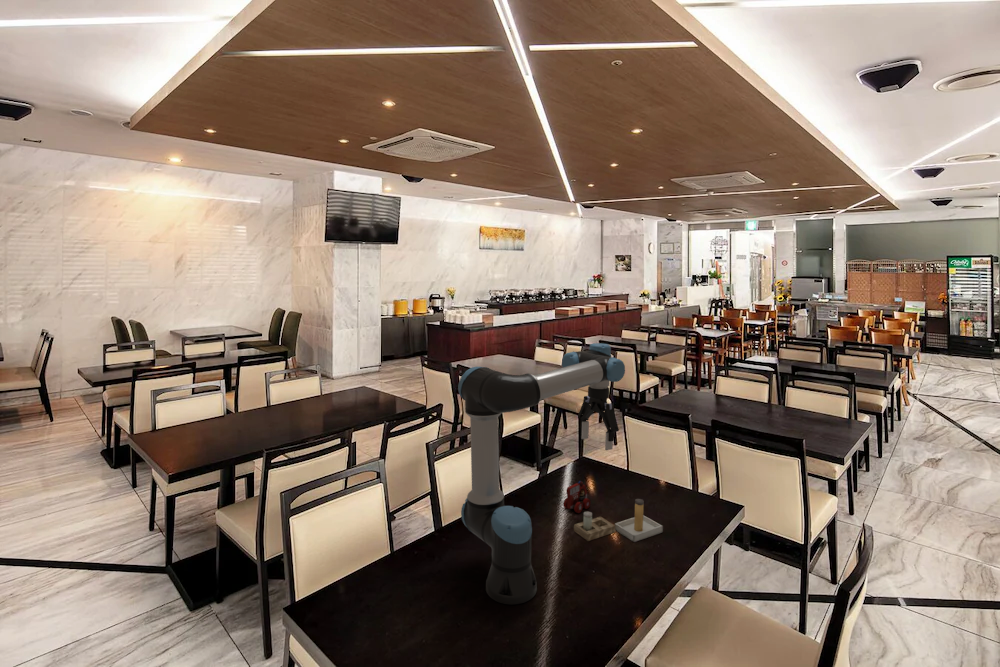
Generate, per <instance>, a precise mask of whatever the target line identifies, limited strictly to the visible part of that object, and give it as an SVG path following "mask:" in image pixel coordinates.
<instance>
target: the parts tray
mask: <svg viewBox="0 0 1000 667" xmlns="http://www.w3.org/2000/svg"><path fill="white" fill-rule="evenodd" d="M634 518H635V516H634V517H631V518H628V519H625V520H622V521H618V522H616V523H614V525H615V532H617V533H619V534H620V535H622V536H624V537H625V538H627V539H628V540H630V541H631V542H633V543H636V542H638V541H641V540H644V539H647V538H650V537H653V536H657V535H659V534H661V533H663V531H664V525H662V524H660V523H658V522H656V521H654V520H653V519H651V518H649V517H647V516H645V515H644V514H643V530H642V531H635V530H634Z"/></svg>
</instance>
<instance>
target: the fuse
mask: <svg viewBox="0 0 1000 667" xmlns="http://www.w3.org/2000/svg"><path fill="white" fill-rule="evenodd" d="M592 519H593V512H591V511H584V512H583V522H584V523H583V529H584V530H586V531H589V530H592Z"/></svg>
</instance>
